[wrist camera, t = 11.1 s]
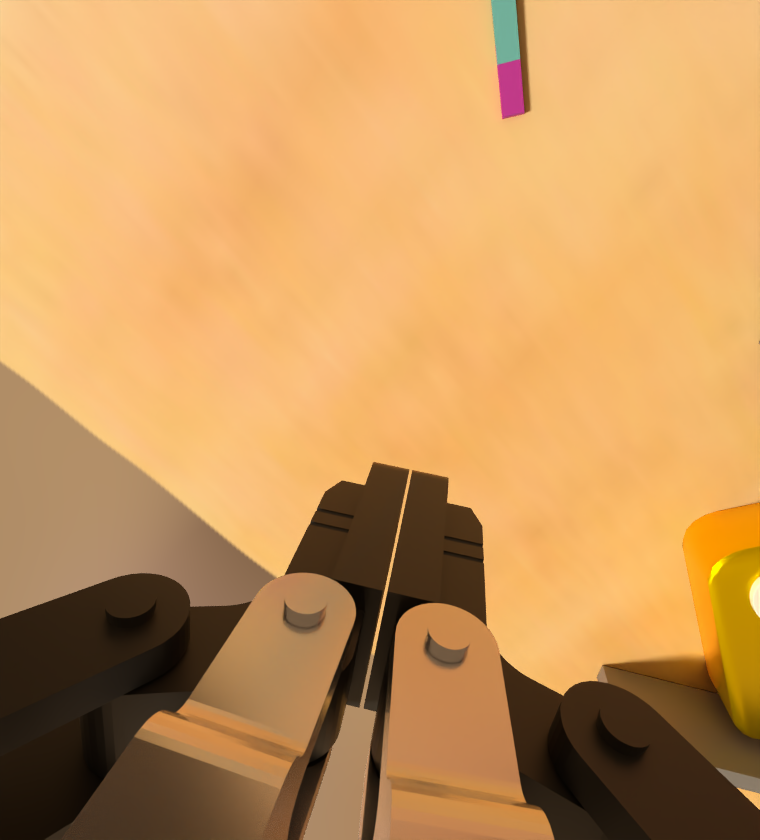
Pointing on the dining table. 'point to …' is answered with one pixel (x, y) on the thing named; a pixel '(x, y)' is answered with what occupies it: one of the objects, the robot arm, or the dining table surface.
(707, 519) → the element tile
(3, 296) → the dining table surface
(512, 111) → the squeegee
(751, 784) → the bin
